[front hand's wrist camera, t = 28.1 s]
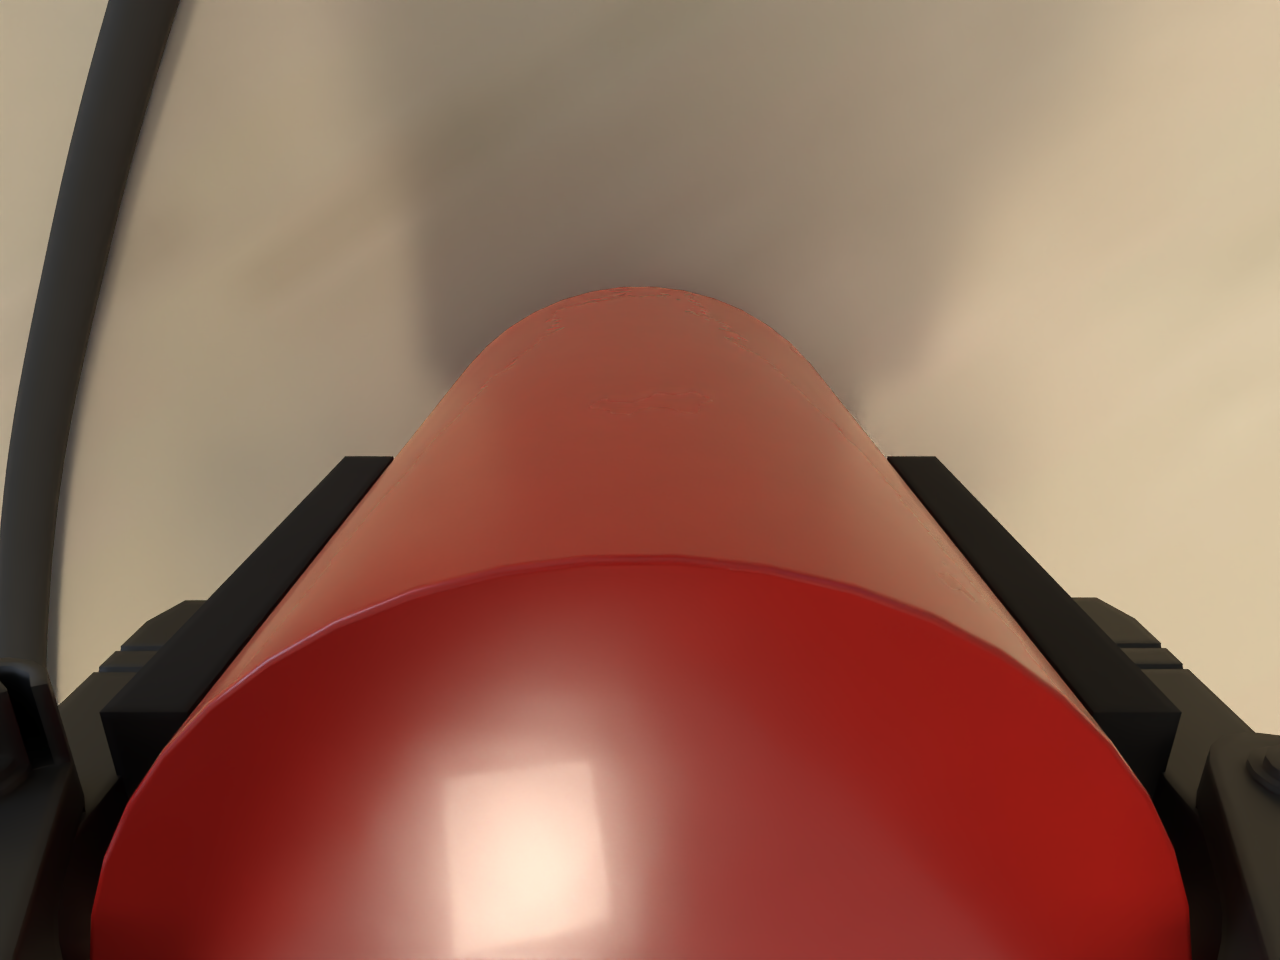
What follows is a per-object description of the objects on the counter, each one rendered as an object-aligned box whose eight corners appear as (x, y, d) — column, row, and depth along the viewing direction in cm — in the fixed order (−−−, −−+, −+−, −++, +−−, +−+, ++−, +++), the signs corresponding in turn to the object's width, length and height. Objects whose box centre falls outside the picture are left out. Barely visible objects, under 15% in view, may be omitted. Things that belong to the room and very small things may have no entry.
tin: (434, 673, 17) (173, 1332, 7) (417, 273, 14) (-34, 522, 5) (823, 691, 17) (1051, 1360, 8) (885, 299, 14) (1368, 590, 5)
